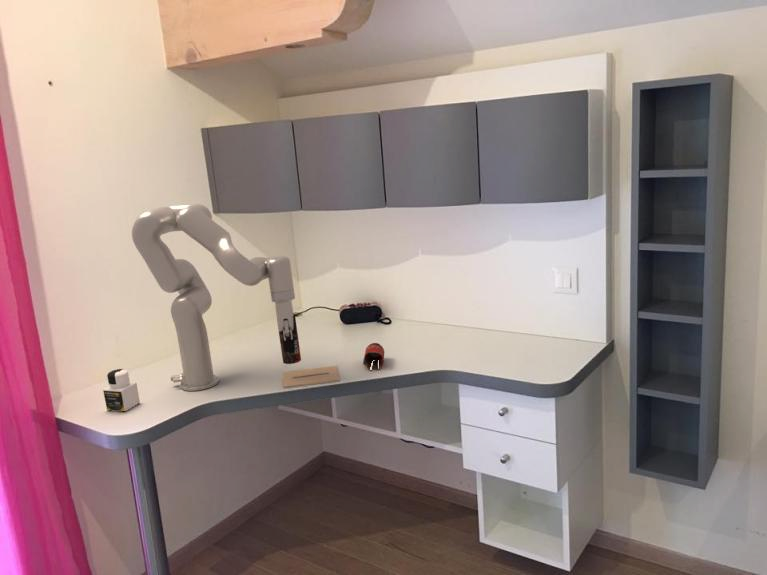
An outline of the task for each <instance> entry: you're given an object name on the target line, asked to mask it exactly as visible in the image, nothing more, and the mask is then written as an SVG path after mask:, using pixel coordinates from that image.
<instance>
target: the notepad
mask: <svg viewBox="0 0 767 575" xmlns="http://www.w3.org/2000/svg"><path fill="white" fill-rule="evenodd" d="M335 382H340V377H339V371H338V366H337V365H330V366H329V365H328V366H321V367H313V368H306V369H304V368H303V369H298V370H290V371H283V383H282V384H283V389H289V388H297V387H304V386H312V385H319V384H327V383H335Z"/></svg>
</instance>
